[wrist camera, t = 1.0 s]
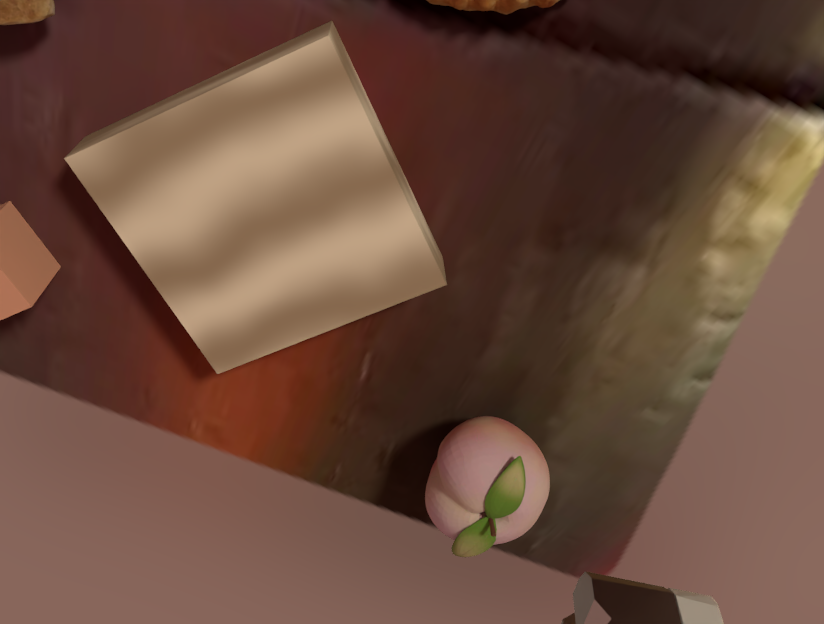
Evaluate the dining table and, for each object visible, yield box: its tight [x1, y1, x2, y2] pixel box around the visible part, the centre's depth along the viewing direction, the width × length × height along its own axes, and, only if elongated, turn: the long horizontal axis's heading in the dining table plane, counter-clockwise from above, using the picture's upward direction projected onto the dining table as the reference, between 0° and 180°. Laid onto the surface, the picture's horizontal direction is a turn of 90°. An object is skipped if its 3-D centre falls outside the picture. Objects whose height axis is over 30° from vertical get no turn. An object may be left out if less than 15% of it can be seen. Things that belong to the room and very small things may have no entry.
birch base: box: [64, 21, 447, 374], centre depth 47 cm, size 16×16×4 cm
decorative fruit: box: [425, 416, 550, 557], centre depth 54 cm, size 9×8×10 cm
